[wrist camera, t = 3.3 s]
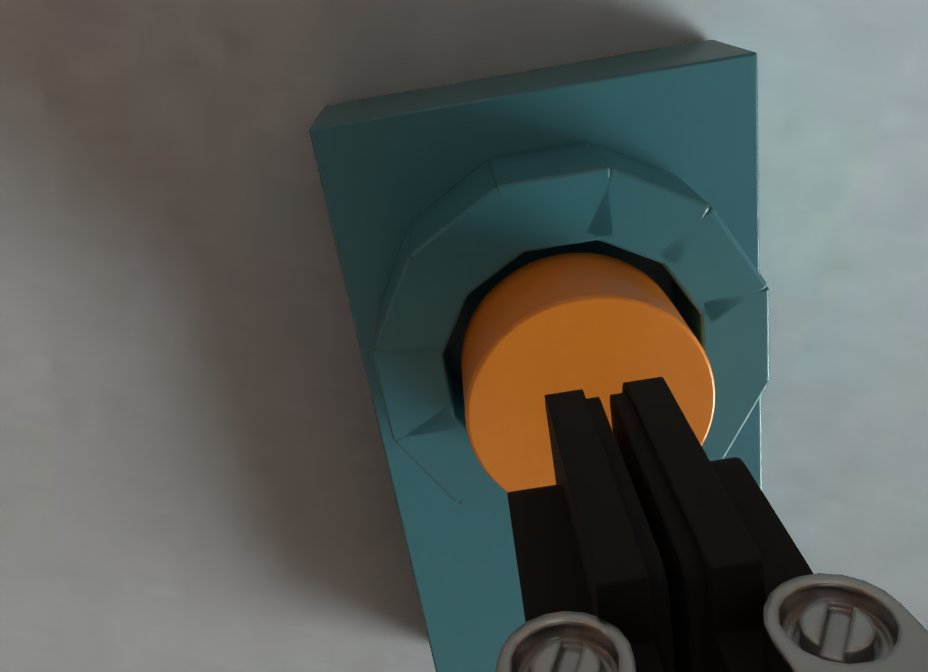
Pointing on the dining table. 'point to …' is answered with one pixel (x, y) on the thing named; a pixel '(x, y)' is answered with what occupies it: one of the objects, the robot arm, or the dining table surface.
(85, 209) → the dining table surface
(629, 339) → the orange push button
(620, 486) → the robot arm
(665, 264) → the push button base
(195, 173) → the dining table surface
